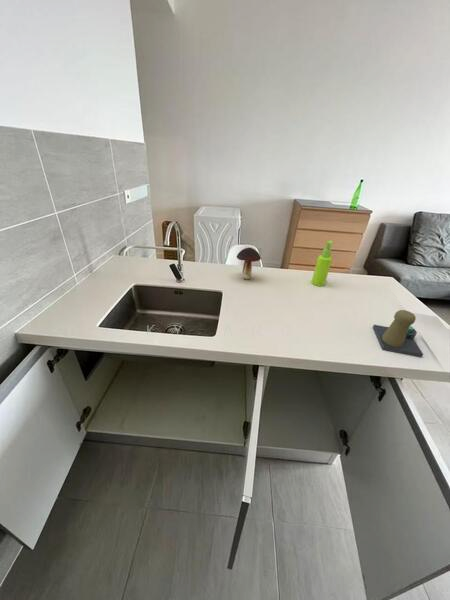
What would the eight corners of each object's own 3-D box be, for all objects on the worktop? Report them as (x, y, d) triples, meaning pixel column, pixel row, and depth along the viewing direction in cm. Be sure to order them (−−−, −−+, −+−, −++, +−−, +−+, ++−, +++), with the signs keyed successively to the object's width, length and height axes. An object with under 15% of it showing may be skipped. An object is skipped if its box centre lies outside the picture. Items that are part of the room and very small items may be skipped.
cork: (384, 345, 76) (399, 316, 70) (379, 333, 81) (392, 305, 75) (406, 349, 75) (423, 320, 69) (399, 336, 80) (414, 309, 74)
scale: (408, 332, 85) (412, 325, 83) (424, 358, 74) (429, 351, 72) (371, 326, 87) (374, 319, 85) (382, 350, 76) (385, 342, 74)
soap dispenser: (326, 282, 115) (338, 240, 105) (323, 287, 110) (335, 245, 100) (313, 278, 118) (324, 238, 107) (310, 284, 113) (321, 242, 102)
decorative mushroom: (230, 278, 113) (232, 247, 105) (243, 271, 121) (246, 242, 113) (250, 286, 108) (254, 254, 100) (262, 278, 115) (266, 247, 108)
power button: (409, 328, 82) (411, 324, 81) (412, 333, 80) (414, 330, 79) (399, 326, 83) (401, 322, 82) (402, 331, 80) (404, 328, 79)
